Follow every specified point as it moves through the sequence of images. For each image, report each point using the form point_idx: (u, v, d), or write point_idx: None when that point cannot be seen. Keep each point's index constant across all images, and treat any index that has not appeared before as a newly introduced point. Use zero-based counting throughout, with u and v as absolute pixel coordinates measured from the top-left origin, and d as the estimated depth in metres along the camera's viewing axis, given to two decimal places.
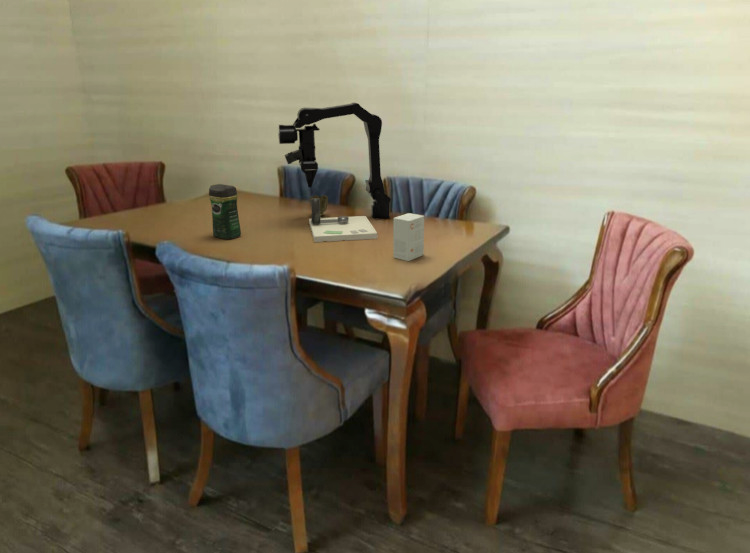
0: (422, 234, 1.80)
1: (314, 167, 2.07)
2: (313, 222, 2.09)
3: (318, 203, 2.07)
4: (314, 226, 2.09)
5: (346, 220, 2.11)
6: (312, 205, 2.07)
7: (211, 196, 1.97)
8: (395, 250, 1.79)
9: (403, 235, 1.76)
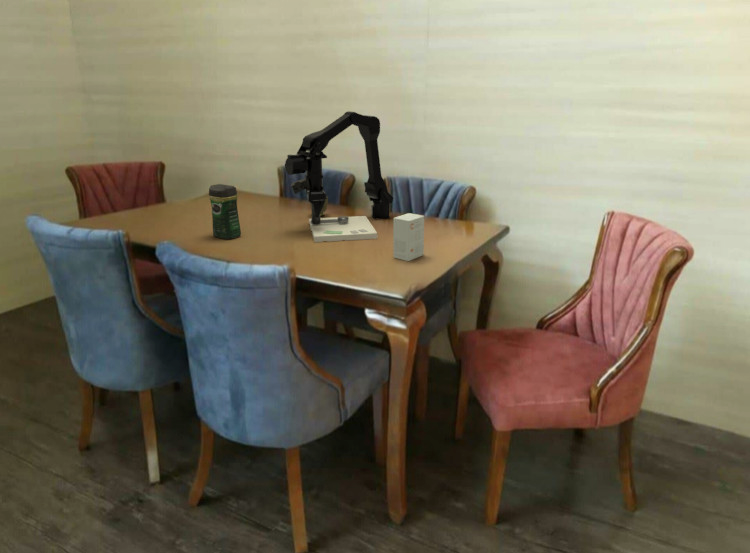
0: (422, 234, 1.80)
1: (322, 197, 1.98)
2: (313, 222, 2.09)
3: None
4: (314, 226, 2.09)
5: (346, 220, 2.11)
6: (312, 205, 2.07)
7: (211, 196, 1.97)
8: (395, 250, 1.79)
9: (403, 235, 1.76)
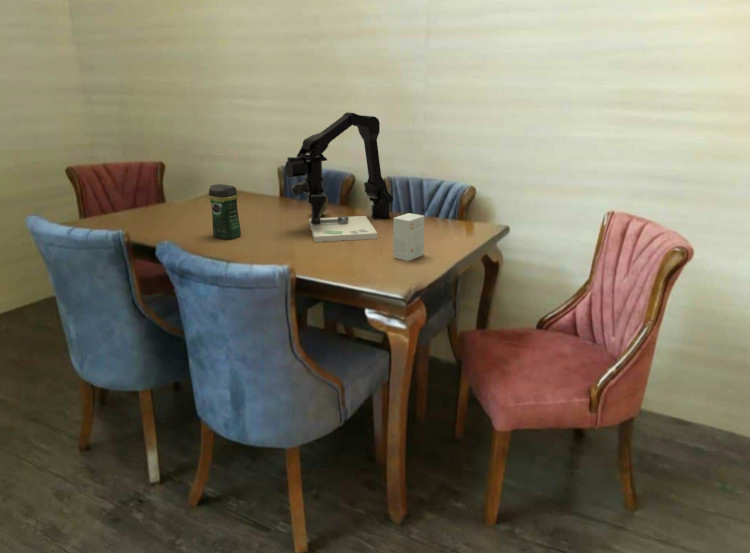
0: (422, 234, 1.80)
1: (322, 200, 1.99)
2: (313, 222, 2.09)
3: None
4: (314, 226, 2.09)
5: (346, 220, 2.11)
6: None
7: (211, 196, 1.97)
8: (395, 250, 1.79)
9: (403, 235, 1.76)
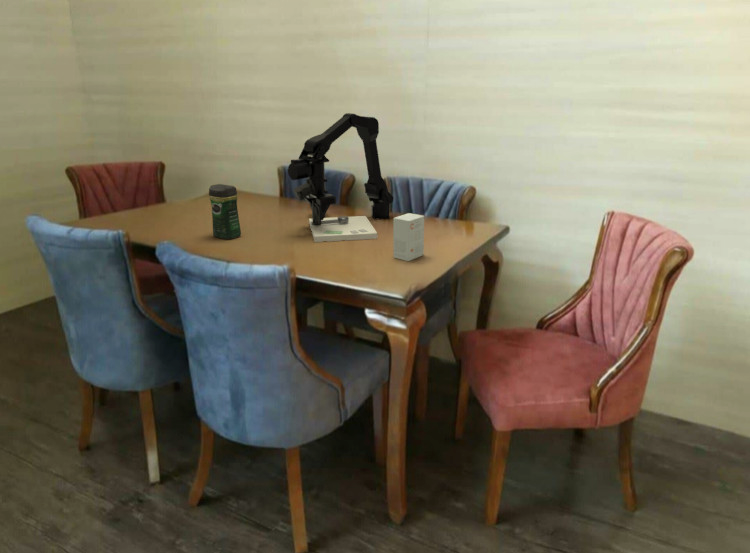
0: (422, 234, 1.80)
1: (333, 201, 1.98)
2: (314, 224, 2.08)
3: None
4: (314, 226, 2.09)
5: (347, 220, 2.11)
6: (313, 206, 2.05)
7: (211, 196, 1.97)
8: (395, 250, 1.79)
9: (403, 235, 1.76)
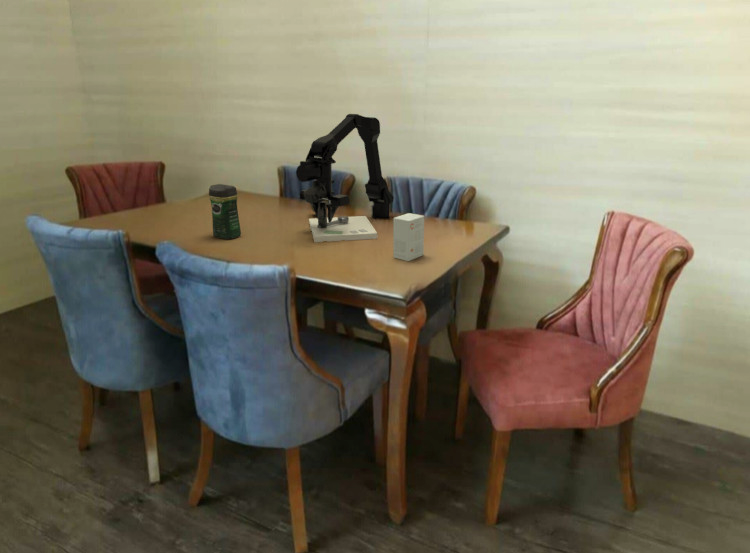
0: (422, 234, 1.80)
1: (347, 201, 1.98)
2: (322, 226, 2.04)
3: None
4: (314, 226, 2.09)
5: (348, 219, 2.12)
6: (321, 209, 2.02)
7: (211, 196, 1.97)
8: (395, 250, 1.79)
9: (403, 235, 1.76)
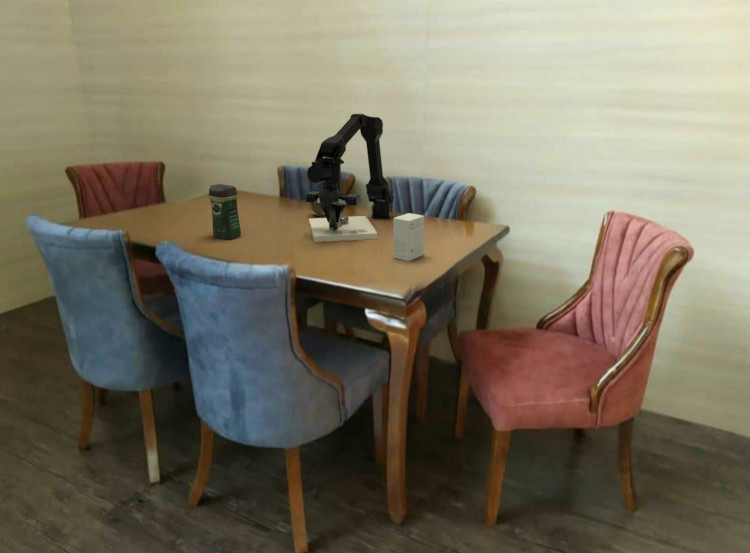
0: (422, 234, 1.80)
1: (360, 200, 1.99)
2: (334, 228, 2.02)
3: None
4: (314, 226, 2.09)
5: None
6: (334, 210, 2.00)
7: (211, 196, 1.97)
8: (395, 250, 1.79)
9: (403, 235, 1.76)
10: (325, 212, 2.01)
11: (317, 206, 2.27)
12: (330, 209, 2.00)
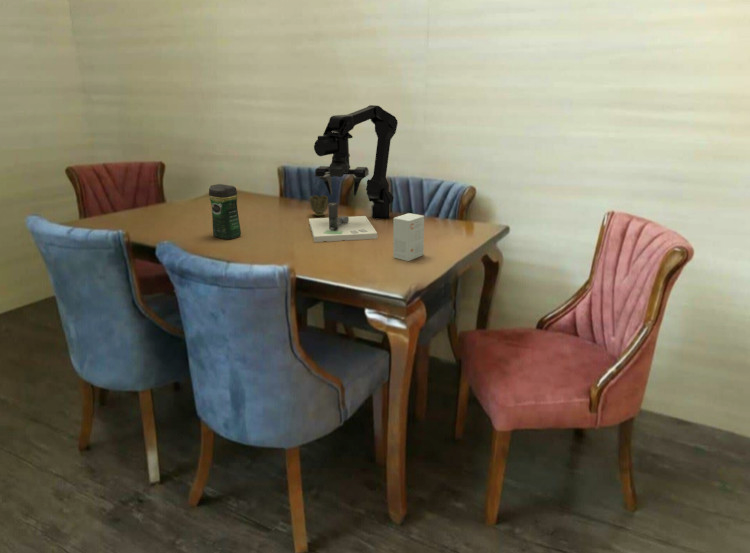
0: (422, 234, 1.80)
1: (368, 173, 2.06)
2: (335, 228, 2.02)
3: None
4: (314, 226, 2.09)
5: None
6: (334, 210, 2.00)
7: (211, 196, 1.97)
8: (395, 250, 1.79)
9: (403, 235, 1.76)
10: (327, 185, 2.09)
11: (317, 206, 2.27)
12: (330, 209, 2.00)
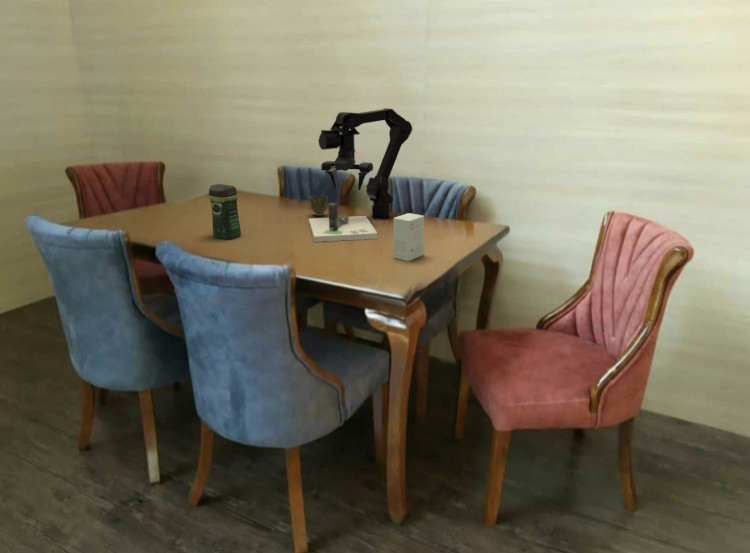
0: (422, 234, 1.80)
1: (372, 168, 2.13)
2: (335, 228, 2.02)
3: None
4: (314, 226, 2.09)
5: None
6: (334, 210, 2.00)
7: (211, 196, 1.97)
8: (395, 250, 1.79)
9: (403, 235, 1.76)
10: (333, 179, 2.16)
11: (317, 206, 2.27)
12: (330, 209, 2.00)
